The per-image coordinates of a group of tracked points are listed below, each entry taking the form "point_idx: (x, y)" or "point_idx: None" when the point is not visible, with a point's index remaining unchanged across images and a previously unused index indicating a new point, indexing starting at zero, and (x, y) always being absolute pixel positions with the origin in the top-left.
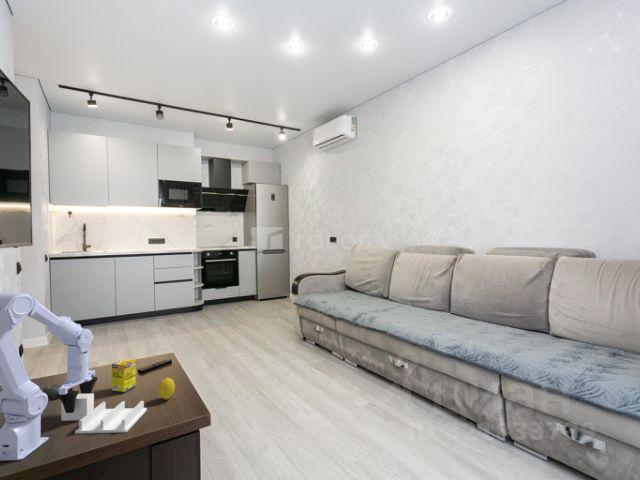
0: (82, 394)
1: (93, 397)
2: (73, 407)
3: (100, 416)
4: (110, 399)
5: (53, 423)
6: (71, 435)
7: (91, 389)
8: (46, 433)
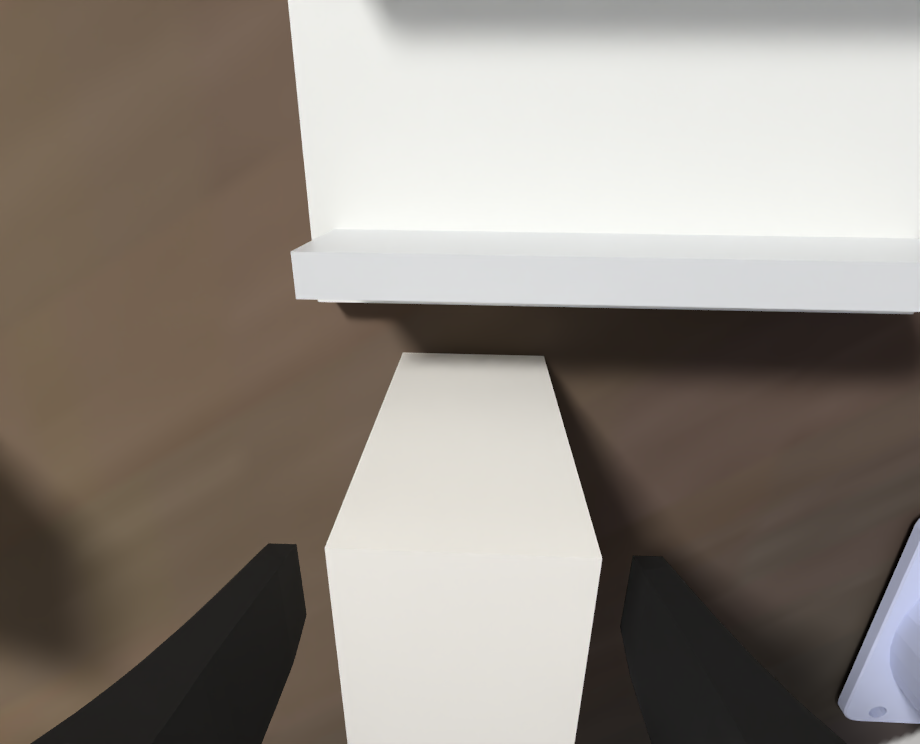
0: (382, 720)
1: (363, 489)
2: (705, 611)
3: (548, 182)
4: (7, 360)
5: None
6: (915, 322)
7: (166, 684)
8: (768, 586)
